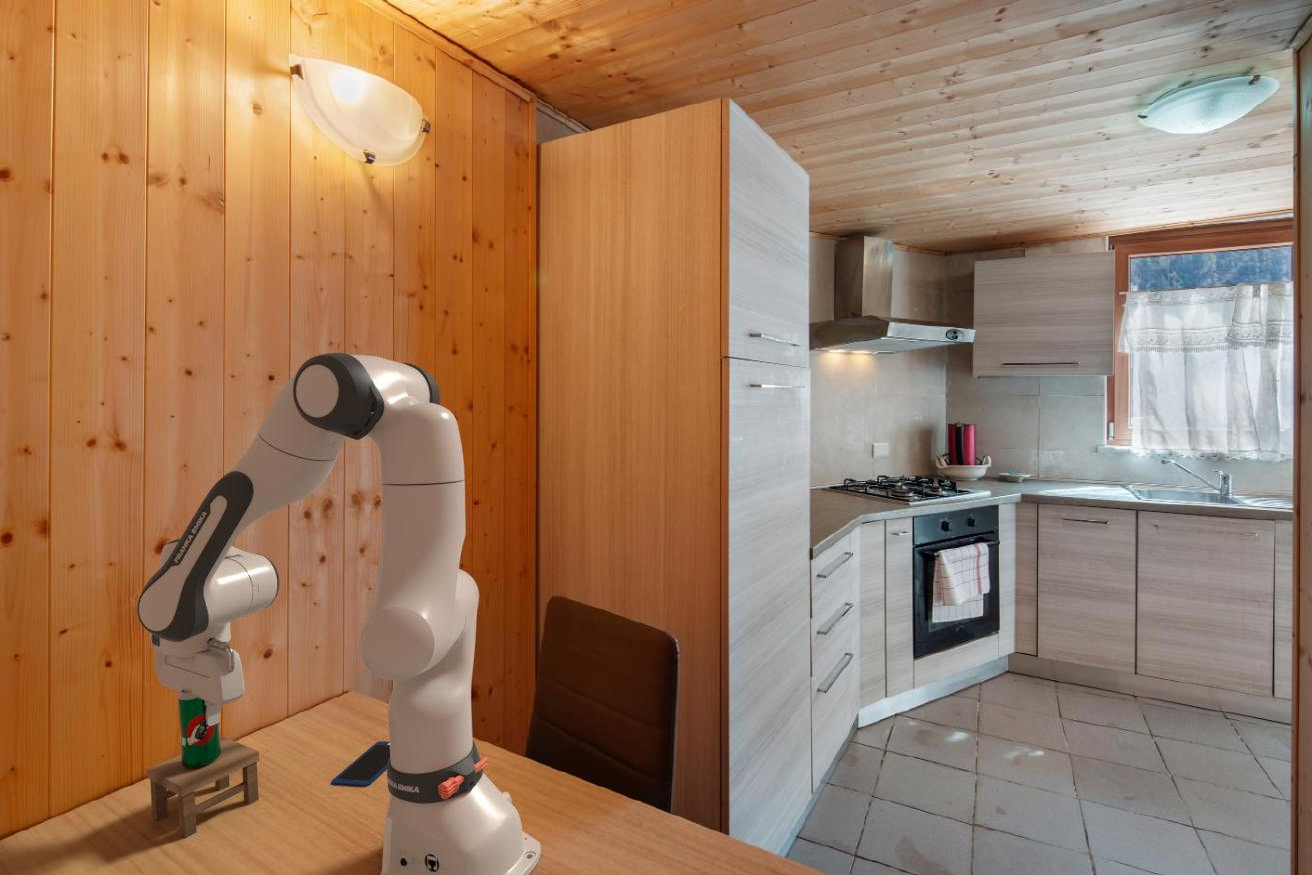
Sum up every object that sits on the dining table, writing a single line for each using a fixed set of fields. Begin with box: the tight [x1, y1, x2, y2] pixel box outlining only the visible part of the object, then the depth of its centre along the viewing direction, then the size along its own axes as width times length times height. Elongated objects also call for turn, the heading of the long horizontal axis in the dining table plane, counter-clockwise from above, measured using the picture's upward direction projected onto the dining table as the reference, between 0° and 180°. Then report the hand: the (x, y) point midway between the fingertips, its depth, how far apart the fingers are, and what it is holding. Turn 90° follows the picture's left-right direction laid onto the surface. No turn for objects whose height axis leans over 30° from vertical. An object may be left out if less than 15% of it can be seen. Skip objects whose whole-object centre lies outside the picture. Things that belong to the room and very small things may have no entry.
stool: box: [146, 736, 260, 839], centre depth 100 cm, size 11×11×8 cm
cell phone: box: [330, 740, 390, 788], centre depth 112 cm, size 7×14×1 cm, turn 171°
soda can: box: [177, 689, 221, 769], centre depth 99 cm, size 5×5×12 cm
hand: (202, 719), depth 99 cm, fingers closed on soda can, 5 cm apart
